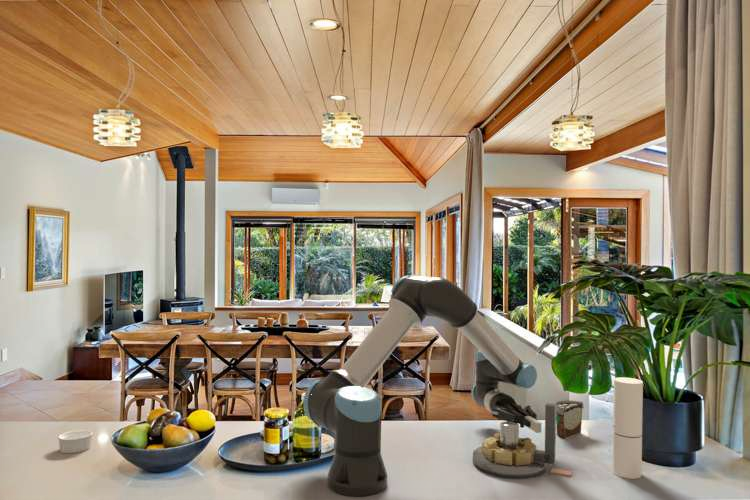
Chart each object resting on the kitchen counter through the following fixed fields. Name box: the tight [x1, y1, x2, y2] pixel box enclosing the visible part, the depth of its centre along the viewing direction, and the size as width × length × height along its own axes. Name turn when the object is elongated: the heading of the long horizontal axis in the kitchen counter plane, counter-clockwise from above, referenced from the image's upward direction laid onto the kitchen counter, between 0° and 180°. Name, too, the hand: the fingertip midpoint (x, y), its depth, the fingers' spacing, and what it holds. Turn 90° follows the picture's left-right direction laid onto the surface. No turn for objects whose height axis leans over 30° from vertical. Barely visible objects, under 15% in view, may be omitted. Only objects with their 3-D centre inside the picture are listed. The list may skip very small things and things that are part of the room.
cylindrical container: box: [611, 376, 644, 480], centre depth 151 cm, size 7×7×25 cm
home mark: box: [550, 468, 573, 477], centre depth 150 cm, size 5×2×1 cm, turn 65°
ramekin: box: [57, 429, 94, 454], centre depth 164 cm, size 9×9×4 cm
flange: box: [472, 421, 548, 480], centre depth 156 cm, size 20×20×11 cm
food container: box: [554, 399, 584, 440], centre depth 182 cm, size 12×6×10 cm, turn 130°
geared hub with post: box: [481, 402, 557, 466], centre depth 155 cm, size 19×14×16 cm
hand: (538, 427), depth 156 cm, fingers closed
